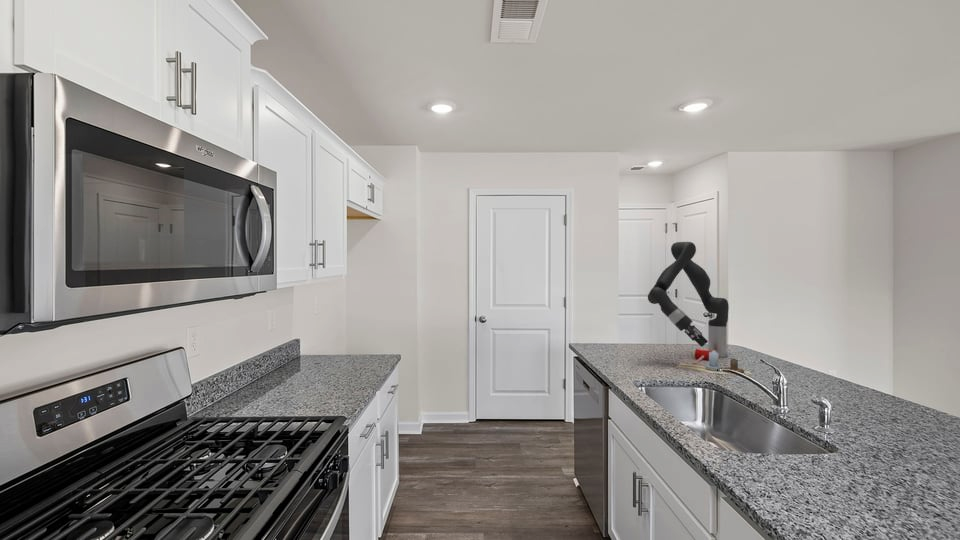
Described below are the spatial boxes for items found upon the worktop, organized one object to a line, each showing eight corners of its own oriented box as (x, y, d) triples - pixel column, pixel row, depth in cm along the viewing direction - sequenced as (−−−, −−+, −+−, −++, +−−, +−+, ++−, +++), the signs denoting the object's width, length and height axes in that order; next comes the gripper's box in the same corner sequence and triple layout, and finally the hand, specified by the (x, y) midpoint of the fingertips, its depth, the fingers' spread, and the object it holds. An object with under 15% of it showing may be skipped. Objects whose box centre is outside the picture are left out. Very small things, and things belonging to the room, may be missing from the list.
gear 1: (707, 366, 218) (707, 350, 218) (722, 368, 214) (722, 352, 214) (704, 369, 213) (704, 353, 213) (720, 371, 209) (720, 354, 208)
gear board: (680, 365, 228) (680, 362, 228) (750, 373, 210) (750, 370, 210) (674, 370, 218) (674, 367, 218) (747, 379, 200) (747, 376, 200)
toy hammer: (705, 369, 221) (706, 356, 221) (681, 365, 229) (681, 353, 229) (718, 361, 238) (718, 350, 238) (694, 358, 246) (694, 347, 246)
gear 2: (725, 369, 214) (725, 355, 214) (744, 371, 209) (745, 358, 209) (723, 372, 208) (723, 358, 208) (743, 375, 203) (743, 361, 203)
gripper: (682, 315, 215) (708, 341, 208) (688, 313, 226) (713, 337, 220) (671, 325, 218) (696, 351, 211) (677, 322, 229) (701, 346, 223)
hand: (705, 344), depth 216 cm, fingers open, 8 cm apart
